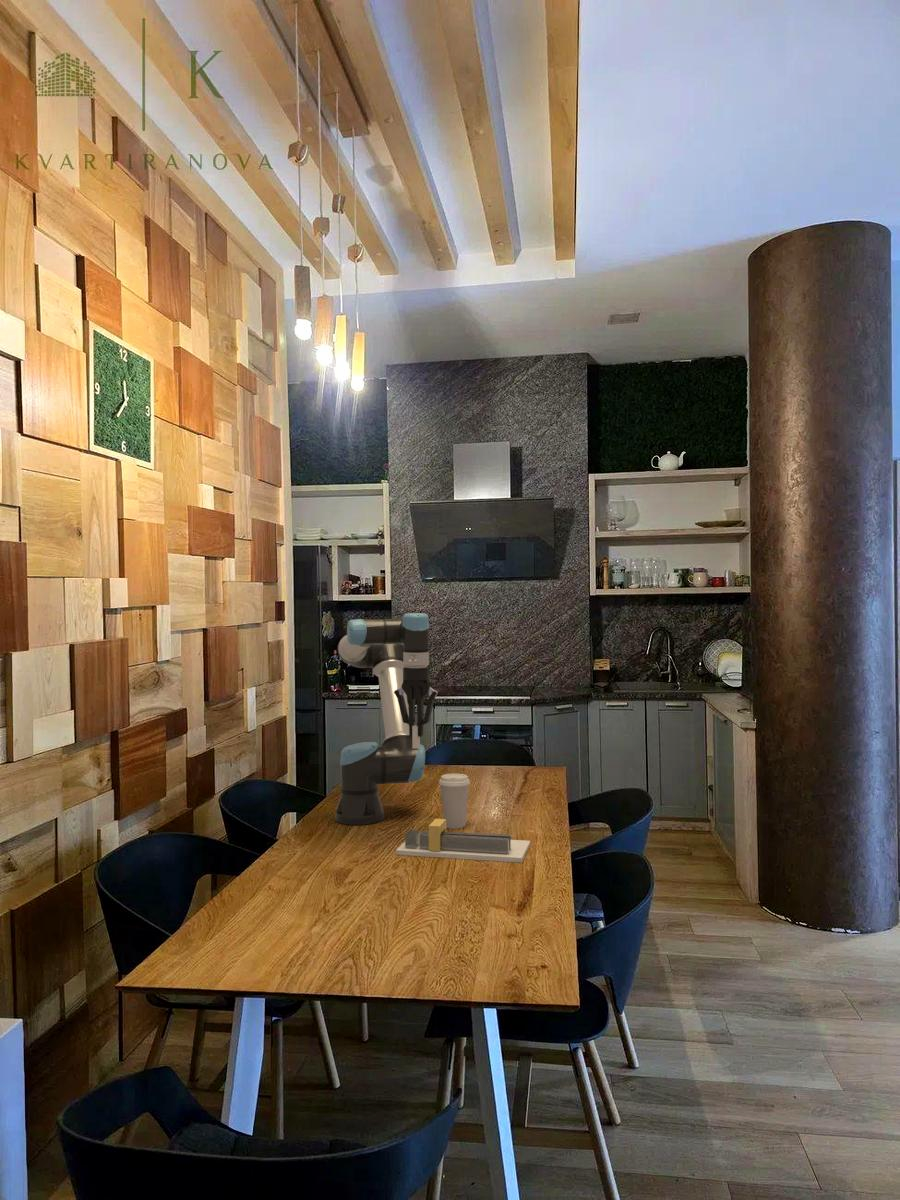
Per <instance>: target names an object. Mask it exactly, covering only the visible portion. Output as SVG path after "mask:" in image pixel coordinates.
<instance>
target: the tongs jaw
mask: <svg viewBox="0 0 900 1200" xmlns="http://www.w3.org/2000/svg"><path fill="white" fill-rule="evenodd" d="M421 833H428V834H429V830H423V831H422V832H421ZM441 834H445V835H463V836H481V837H499V838H509V850H510V849H511V840H512V834H510V833H509V834H506V833H505V834H504V833H487V832H486V833H483V832H482V833H481V832H479V833H478V832H464V831H463V832H459V831H458V832H457V831H446V832H442V833H441Z"/></svg>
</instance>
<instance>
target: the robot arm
mask: <svg viewBox="0 0 900 1200" xmlns="http://www.w3.org/2000/svg"><path fill="white" fill-rule="evenodd" d="M429 619H430V618H429V615H428V614H427V613H425V612H424V613H423V612H416V613H415V612H414V613H413V612H412V613H411V612H409V613H404V614H403V616H402V618H378V619H377V618H374V619H372V618H368V619H365V618H363V619H362V618H357V619H349V620H348V622H347V626H346V635H344V636H343V637H342V638H341V639H340V641H339V642H338V645H337V653H338V656H339V658H340V659H341V660H342V661H343V662H344V663H346V664H347V665H349V666H352V667H354V668H359V669H372V672H373V675H374V676H376V677H378V685H379V691H380V693H379V694H380V700H381V701H380V702H381V708H382V709H381V710H382V718H383V727H384V733H385V738H384V739H383V740H382V743H381V746H379V744H378V742H376V741H364V742H363V741H362V742H358V743H357V742H356V743H353V744H349V745H347V746H344V748H342V750H341V751H340V762H339V765H340V796H339V799H338V803H337V805H336V808H335V812H334V813H335V815H334V817H335V818H334V819H335V820H334V821H335V822H337V823H340V824H344V825H350V826H351V825H352V826H353V825H355V826H358V825H359V826H361V825H362V826H364V825H372V824H376V823H379V822H381V821H383V820H384V819H385V812H384V811H385V810H384V807H383V804H382V801H381V798H380V795H379V785H387V784H389V785H390V784H391V785H392V784H406V783H407V784H409V783H414V782H419V781H421V780H422V778H423V777H424V772H425V765H426V748H425V745H424V744H421V737H422V736H424V725H426V724H428V723H429V722H430V720H431V716H432V712H433V708H434V703H435V699H436V697H437V696H438V695H439V691H438V690H437V689H436V690H435V689H434V688H432V687H431V686H432V685H431V684H430V669H429V667H428V666H429V665H430V620H429ZM427 694H428V696H429V697H428V700H427V703H426V709H425V710H424V701H425V697H426V695H427ZM416 704H417V705H416ZM424 711H425V713H424ZM416 717H417V721H416Z"/></svg>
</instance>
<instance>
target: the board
mask: <svg viewBox="0 0 900 1200" xmlns="http://www.w3.org/2000/svg"><path fill="white" fill-rule="evenodd" d="M530 847H531V840H524V839H523V840H522V839H511V849H510V850H509V853H508V854H507V853H491V852H474V851H458V850H441V849H440V851H433V850H429V849H425V848H420V844H419V845H418V846H417V847H416V848H408V847H405V841H404V842H402V844H401V845H400V846H399V847H397V849H395V855H397V856H412V857H413V856H414V857H428V858H441V859H456V860H457V859H458V860H473V861H474V860H475V861H488V862H504V863H505V862H506V863H523V861H524V860H525V857H526V855H527V853H528V851H529V849H530Z"/></svg>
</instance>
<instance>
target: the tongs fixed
mask: <svg viewBox="0 0 900 1200" xmlns="http://www.w3.org/2000/svg"><path fill="white" fill-rule="evenodd" d="M404 840H405V841H404V842H405V847H408V848H416V847H417V846H418V845H419V844H420V848H425V849H429V834H428V833H422V832H421V830H415V829H409V830H408V831H407V832H406V833H405V835H404ZM440 849H441V850H458V851H474V852H491V853H507V854H508V853H509V838H499V837H481V836H463V835H445V834H440Z"/></svg>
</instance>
